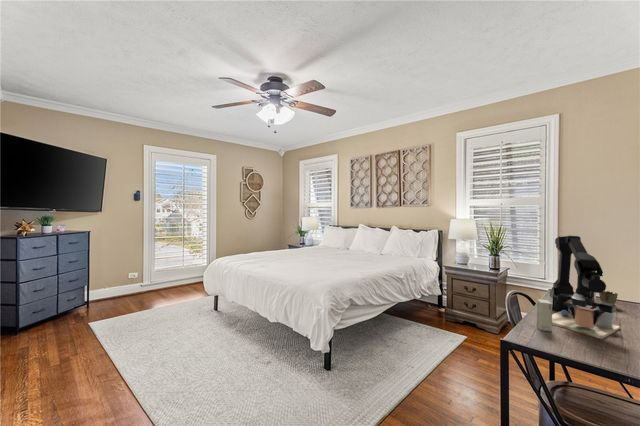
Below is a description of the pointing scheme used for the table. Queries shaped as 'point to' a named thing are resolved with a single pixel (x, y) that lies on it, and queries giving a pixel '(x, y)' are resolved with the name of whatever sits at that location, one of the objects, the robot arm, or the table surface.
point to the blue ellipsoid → (564, 313)
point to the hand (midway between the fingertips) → (584, 321)
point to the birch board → (569, 324)
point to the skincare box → (544, 315)
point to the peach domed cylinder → (584, 317)
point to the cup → (608, 297)
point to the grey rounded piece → (605, 321)
